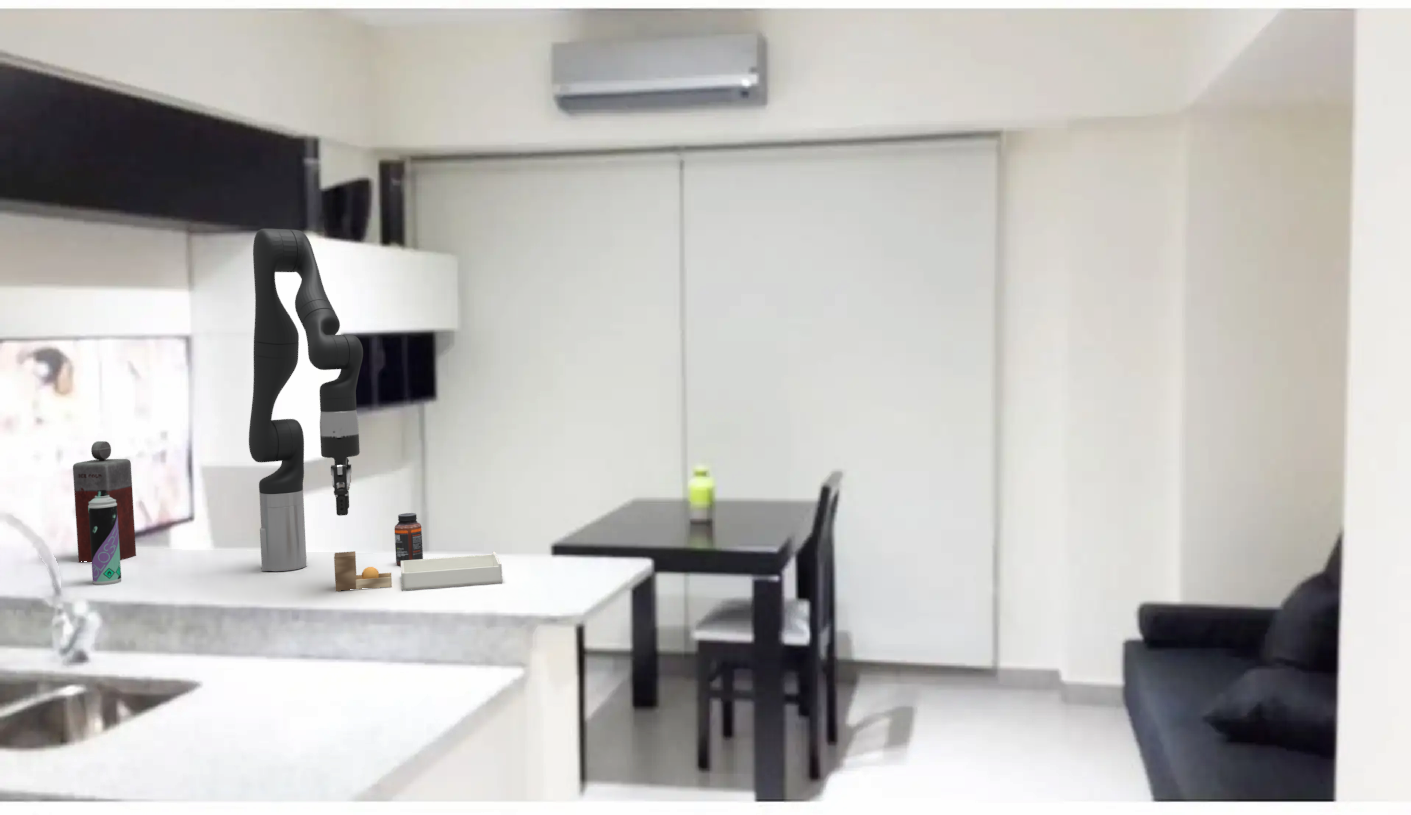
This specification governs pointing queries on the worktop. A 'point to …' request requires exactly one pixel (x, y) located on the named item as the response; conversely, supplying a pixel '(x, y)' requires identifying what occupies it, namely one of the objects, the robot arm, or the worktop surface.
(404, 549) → the supplement bottle
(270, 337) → the robot arm
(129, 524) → the red and grey canister
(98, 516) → the spray can
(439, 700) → the worktop surface
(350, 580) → the scoop
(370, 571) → the ball
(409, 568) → the tray
